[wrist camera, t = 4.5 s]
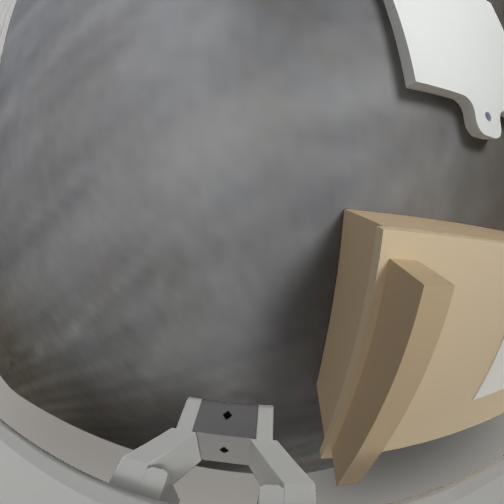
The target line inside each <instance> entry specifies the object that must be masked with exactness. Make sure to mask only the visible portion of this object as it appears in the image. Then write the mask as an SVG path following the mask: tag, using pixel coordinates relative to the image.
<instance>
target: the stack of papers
mask: <svg viewBox="0 0 504 504" xmlns="http://www.w3.org/2000/svg"><path fill="white" fill-rule="evenodd" d="M15 3H16V0H0V60H1V55H2V50H3V45H4V41H5V37H6V33H7V29H8V25H9V22H10V18H11V15H12V12H13V9H14V6H15Z"/></svg>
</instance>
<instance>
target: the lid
mask: <svg viewBox="0 0 504 504" xmlns="http://www.w3.org/2000/svg"><path fill="white" fill-rule="evenodd" d="M502 413H504V242H503V241H496V240H490V239H483V238H476V237H469V236H461V235H453V234H445V233H437V232H429V231H420V230H411V229H402V228H392V227H382V226H376V233H375V241H374V249H373V256H372V262H371V269H370V275H369V280H368V286H367V291H366V296H365V301H364V306H363V311H362V316H361V320H360V324H359V329H358V333H357V337H356V341H355V345H354V349H353V353H352V356H351V360H350V363H349V367H348V370H347V374H346V377H345V381H344V384H343V387H342V390H341V393H340V396H339V399H338V402H337V405H336V408H335V411H334V414H333V417H332V419H331V422H330V425H329V427H328V430H327V433H326V435H325V438H324V440H323V443H322V445H321V448H320V458H321V459H323V458H333V464H334V471H335V479H336V486H342V485H350V484H357V483H359V482H360V481H361V480H362V478H363V477H364V476H365V475H366V473H367V472H368V471H369V469H370V468H371V467H372V465H373V464H374V462H375V461H376V459H377V458H378V457H379V455H380V454H381V452H383V451H388V450H393V449H398V448H403V447H407V446H412V445H416V444H420V443H423V442H427V441H430V440H434V439H438V438H441V437H444V436H447V435H450V434H453V433H456V432H459V431H461V430H464V429H467V428H470V427H472V426H474V425H477V424H480V423H482V422H484V421H487V420H489V419H491V418H493V417H495V416H498V415H500V414H502Z"/></svg>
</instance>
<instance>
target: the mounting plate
mask: <svg viewBox="0 0 504 504" xmlns="http://www.w3.org/2000/svg"><path fill="white" fill-rule="evenodd" d="M383 2H384V4H385V7H386V10H387V13H388V16H389V20H390V23H391V26H392V30H393V33H394V37H395V40H396V44H397V48H398V52H399V57H400V61H401V66H402V70H403V75H404V81H405V86H406V88H409V89H414V90H418V91H423V92H427V93H431V94H435V95H439V96H443V97H446V98H450V99H452V100H454V101H456V102H457V103H458V104H459V106H460V107H461V110H462V112H463V118H464V124H465V127H466V129H467V131H468V132H469V134H470V135H472V136H473V137H476V138H479V139H483V140H487V139H497V138H499V137H500V135H501V123H500V116H501V117H503V118H504V31H503V28H502V26H501V24H500V21H499V19H498V17H497V15H496V13H495V11H494V9H493V7H492V5H491V3H490V2H488V1H486V0H383Z"/></svg>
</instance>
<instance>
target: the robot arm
mask: <svg viewBox="0 0 504 504" xmlns="http://www.w3.org/2000/svg"><path fill="white" fill-rule="evenodd" d="M273 409H274V407H273V405H259V406H258V405H256V404H242V403H228V402H221V401H214V400H208V399H201V398H195V397H189V398H188V399H187V401H186V403H185V406H184V408H183V411H182V414H181V416H180V419H179V421H178V424H177V427H176V428H170V429H169V430H167V431H166V432H164V433H162V434H161V435H159V436H157V437H156V438H154V439H152V440H151V441H149V442H147V443H145V444H144V445H142V446H140V447H138V448H137V449H135V450H133V451H131V452H129V453H127V454H126V455H124V456H122V458H121V460H120V462H119V464H118V466H117V468H116V470H115V472H114V474H113V476H112V478H111V480H110V482H109V483H107V482H105V481H102V480H100V479H98V478H95V477H93V476H91V475H89V474H87V473H85V472H83V471H81V470H79V469H76V468H75V467H73V466H71V465H69V464H67V463H65V462H64V461H62V460H60V459H58V458H56V457H55V456H53V455H51V454H50V453H48V452H46V451H45V450H43V449H41V448H40V447H38V446H37V445H35V444H34V443H32V442H31V441H29V440H28V439H27V438H25V437H24V436H22V435H21V434H19V433H18V432H17V431H15V430H14V429H13V428H11V427H10V426H9V425H8V424H6V423H5V422H4V421H2V420H1V419H0V504H179V502H180V499H179V497H178V495H177V493H176V491H175V489H174V487H173V484H174V483H175V482H177V481H178V480H179V479H180V478H181V477H183V476H184V475H185V474H186V473H187V472H189V471H190V470H191V469H192V468H193V467H194V466H196V465H197V464H198V463H199V462H200V461H201V459H202V460H209V461H217V462H226V463H233V464H242V465H249V468H250V469H251V471H252V472H253V474H254V476H255V477H256V479H257V480H258V482H259V484H260V485H261V487H260V491H259V496H258V502H257V504H316V491H315V483H314V482H313V481H312V480H311V479H310V478H309V477H308V475H307V474H306V473H305V472H304V471H303V470H302V469H301V468H300V467H299V465H298V464H297V463H296V462H295V461H294V460H293V459H292V457H291V456H290V455H289V454H288V453H287V452H286V450H285V449H284V448H283V447H282V446H281V444H280V443H279V442H278V441H277V440H273ZM257 415H258V416H257ZM389 504H504V455H503V456H501V457H500V458H498V459H496V460H495V461H493V462H491V463H489V464H488V465H486V466H484V467H482V468H480V469H478V470H476V471H474V472H472V473H470V474H468V475H467V476H464V477H462V478H460V479H458V480H456V481H453V482H451V483H449V484H446V485H444V486H441V487H439V488H436V489H434V490H431V491H428V492H426V493H423V494H420V495H417V496H414V497H410V498H407V499H404V500H401V501H397V502H393V503H389Z"/></svg>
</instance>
